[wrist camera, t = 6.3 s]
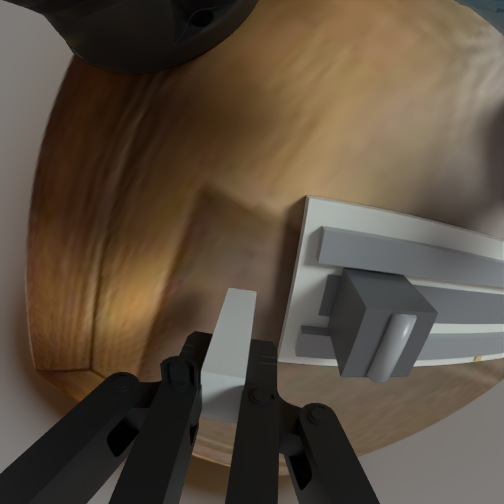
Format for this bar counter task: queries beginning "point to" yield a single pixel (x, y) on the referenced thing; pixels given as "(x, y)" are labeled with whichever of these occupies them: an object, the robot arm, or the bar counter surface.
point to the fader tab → (378, 324)
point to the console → (403, 263)
